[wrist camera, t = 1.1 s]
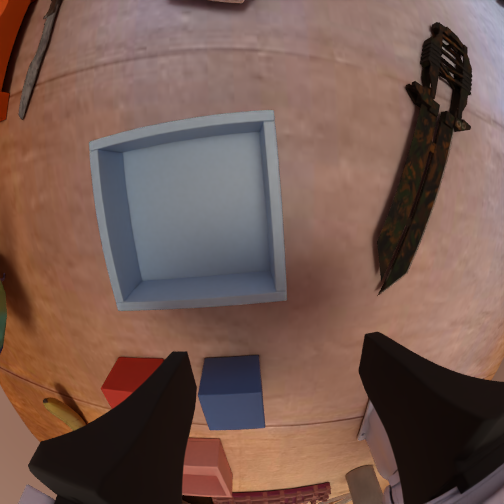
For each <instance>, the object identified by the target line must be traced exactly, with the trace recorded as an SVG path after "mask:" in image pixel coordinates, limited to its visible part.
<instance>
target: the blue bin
mask: <svg viewBox="0 0 504 504" xmlns="http://www.w3.org/2000/svg"><path fill="white" fill-rule="evenodd" d="M274 120H275V118H274V111H273V110H261V111H246V112H235V113H225V114H217V115H209V116H201V117H195V118H188V119H182V120H176V121H171V122H166V123H161V124H156V125H151V126H146V127H142V128H138V129H133V130H129V131H125V132H122V133H118V134H114V135H110V136H107V137H103V138H100V139H97V140H93V141H90V142H89V151H90V165H91V176H92V185H93V193H94V201H95V208H96V215H97V221H98V227H99V232H100V237H101V243H102V248H103V252H104V257H105V261H106V266H107V270H108V274H109V278H110V282H111V286H112V290H113V293H114V297H115V300H116V304H117V308H118V311H135V310H164V309H185V308H202V307H217V306H231V305H243V304H255V303H265V302H276V301H285V300H287V291H286V290H287V286H286V264H285V246H284V229H283V213H282V199H281V185H280V173H279V161H278V149H277V138H276V128H275V121H274Z"/></svg>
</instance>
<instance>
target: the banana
mask: <svg viewBox="0 0 504 504" xmlns="http://www.w3.org/2000/svg"><path fill="white" fill-rule="evenodd" d="M43 404H44V406H45V408H46V409H47V410H48V411H49V412H50V413H52V414H53V415H55V416H56V417H58V418H59V419H61V420H62V421H63V422H65V423H66V424H67V425H68V426H69V427H70V428H71V429H72V430H73V431H74V430H76V429H79V428H81V427H83V426H85V425H86V424H85V422H84V421H83V419H82V418H81V417H80V416H79V415H78V414H77V413H76V412H75V411H74V410H73V409H71V408H70V407H69V406H67V405H66V404H64V403H62V402H61V401H59V400H57V399H55V398H45V399H44V400H43Z"/></svg>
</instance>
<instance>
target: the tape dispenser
mask: <svg viewBox="0 0 504 504" xmlns="http://www.w3.org/2000/svg"><path fill="white" fill-rule="evenodd" d="M34 1H35V0H0V122H1V121H3V120H5V119H6V114H7V107H8V101H9V95H10V93H5V92H1V90H2V85H3V81H4V76H5V72H6V68H7V64H8V61H9V57H10V54H11V50H12V47H13V44H14V41H15V38H16V35H17V33H18V30H19V27H20V25H21V22H22V20H23V17H24V15H25V12H26V10H27V8H28V6H29V4H30V3H32V2H34Z"/></svg>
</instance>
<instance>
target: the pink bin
mask: <svg viewBox="0 0 504 504" xmlns="http://www.w3.org/2000/svg"><path fill="white" fill-rule="evenodd" d="M182 495H190V496H203V497H232V472H231V469H230V467H229V464H228V461H227V458H226V456H225V453H224V450H223V447H222V444H221V441H220V439H202V438H188V442H187V446H186V451H185V457H184V468H183V483H182Z"/></svg>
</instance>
